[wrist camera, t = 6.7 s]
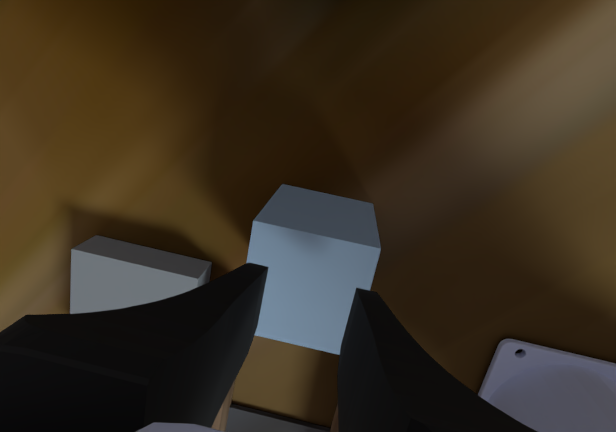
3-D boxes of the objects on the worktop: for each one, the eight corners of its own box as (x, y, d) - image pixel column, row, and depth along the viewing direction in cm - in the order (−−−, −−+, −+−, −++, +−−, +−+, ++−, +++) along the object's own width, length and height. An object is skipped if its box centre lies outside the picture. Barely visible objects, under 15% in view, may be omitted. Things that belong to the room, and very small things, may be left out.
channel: (383, 323, 21) (387, 353, 19) (340, 465, 24) (339, 505, 22) (228, 287, 22) (213, 311, 19) (206, 431, 25) (190, 467, 22)
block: (373, 203, 20) (381, 248, 14) (352, 285, 21) (351, 357, 15) (282, 183, 20) (253, 220, 14) (267, 266, 21) (235, 330, 15)
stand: (212, 262, 21) (198, 278, 19) (198, 362, 23) (184, 385, 21) (96, 235, 22) (71, 248, 20) (92, 336, 24) (69, 357, 22)
